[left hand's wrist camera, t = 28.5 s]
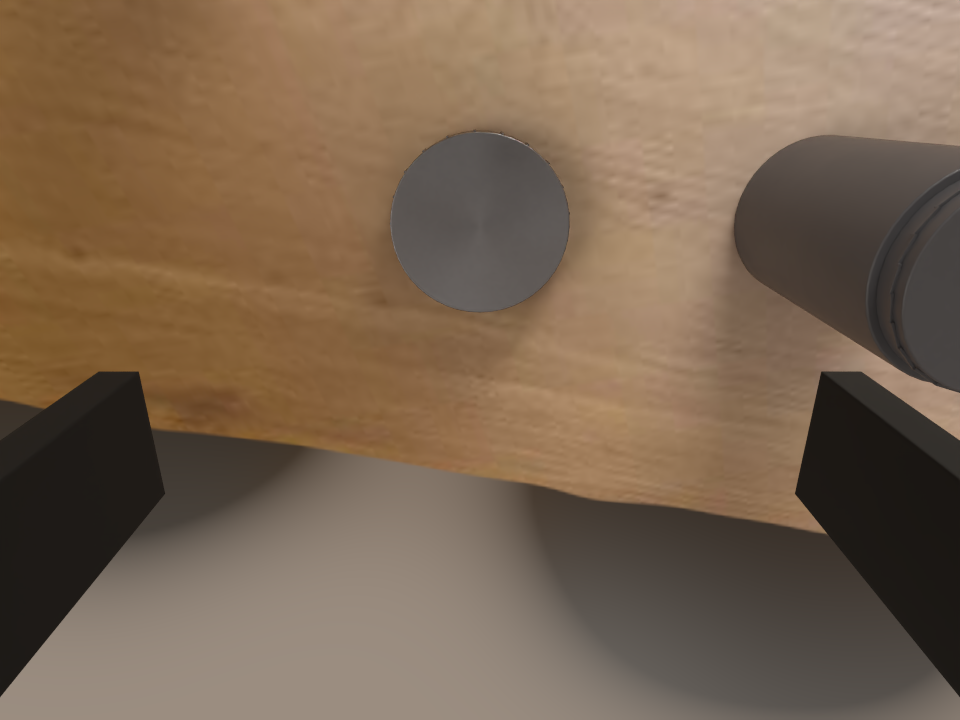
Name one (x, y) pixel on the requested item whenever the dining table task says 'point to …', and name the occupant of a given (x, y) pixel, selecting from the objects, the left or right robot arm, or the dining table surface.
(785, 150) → the jar
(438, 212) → the lid
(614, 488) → the dining table surface
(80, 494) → the left robot arm
